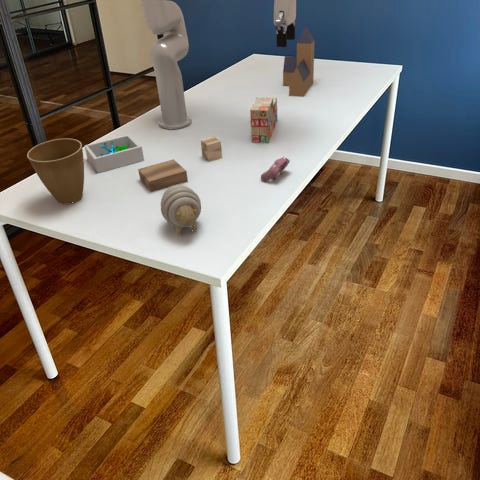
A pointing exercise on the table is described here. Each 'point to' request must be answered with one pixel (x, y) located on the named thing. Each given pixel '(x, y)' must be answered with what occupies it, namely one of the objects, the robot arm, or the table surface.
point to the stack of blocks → (263, 119)
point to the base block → (163, 175)
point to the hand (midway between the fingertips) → (286, 43)
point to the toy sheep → (180, 207)
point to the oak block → (211, 148)
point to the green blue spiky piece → (114, 149)
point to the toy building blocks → (300, 66)
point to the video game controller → (275, 169)
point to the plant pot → (60, 168)
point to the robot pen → (115, 158)
